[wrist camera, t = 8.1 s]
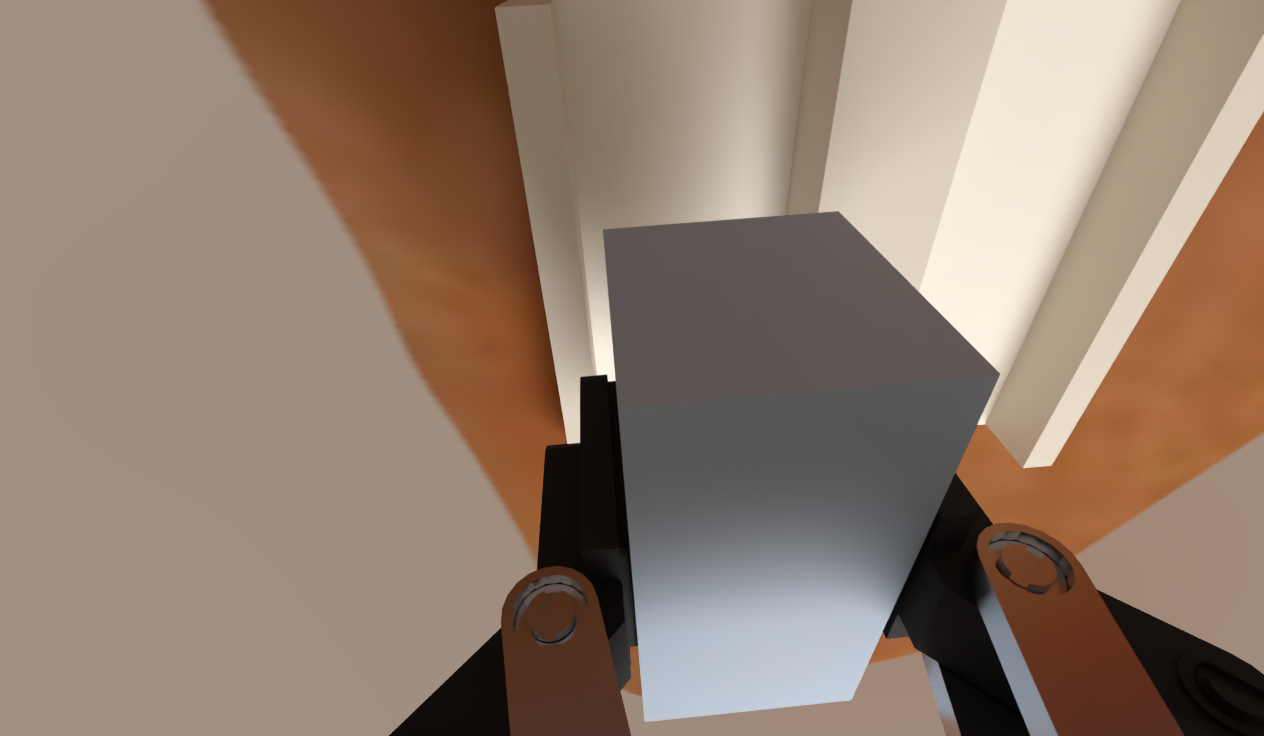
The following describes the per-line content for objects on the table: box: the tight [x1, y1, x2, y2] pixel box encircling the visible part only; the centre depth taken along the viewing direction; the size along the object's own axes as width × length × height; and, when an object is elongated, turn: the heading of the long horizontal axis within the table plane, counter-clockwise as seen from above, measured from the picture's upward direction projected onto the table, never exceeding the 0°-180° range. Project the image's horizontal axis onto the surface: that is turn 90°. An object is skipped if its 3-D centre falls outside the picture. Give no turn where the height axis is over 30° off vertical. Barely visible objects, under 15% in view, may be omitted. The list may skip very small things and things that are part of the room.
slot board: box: [495, 0, 1264, 468], centre depth 16 cm, size 16×14×3 cm
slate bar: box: [603, 211, 1000, 722], centre depth 10 cm, size 4×8×4 cm, turn 3°
